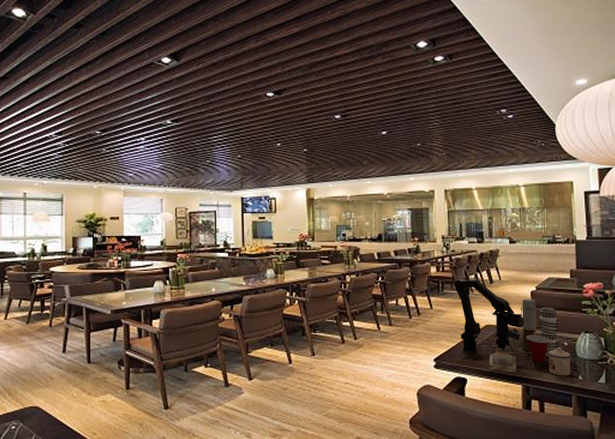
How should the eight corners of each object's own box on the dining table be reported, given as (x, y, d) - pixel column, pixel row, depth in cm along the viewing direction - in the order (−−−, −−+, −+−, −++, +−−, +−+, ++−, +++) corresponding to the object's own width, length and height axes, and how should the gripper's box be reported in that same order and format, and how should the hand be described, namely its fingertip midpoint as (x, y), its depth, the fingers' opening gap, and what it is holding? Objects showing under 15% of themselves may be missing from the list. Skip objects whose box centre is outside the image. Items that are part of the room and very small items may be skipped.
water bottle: (536, 341, 262) (536, 299, 262) (535, 344, 255) (535, 301, 255) (520, 339, 267) (519, 298, 267) (518, 342, 260) (517, 300, 260)
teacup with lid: (546, 368, 212) (546, 344, 212) (567, 370, 210) (566, 346, 210) (553, 377, 201) (553, 351, 201) (575, 378, 198) (575, 353, 198)
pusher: (493, 364, 218) (493, 354, 218) (493, 363, 220) (493, 353, 220) (511, 367, 214) (511, 356, 214) (511, 365, 217) (511, 355, 217)
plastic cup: (538, 365, 217) (537, 341, 217) (522, 358, 228) (521, 335, 228) (555, 363, 220) (555, 339, 220) (539, 357, 231) (538, 334, 231)
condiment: (538, 351, 241) (538, 329, 241) (530, 353, 237) (529, 331, 237) (525, 348, 247) (525, 327, 248) (517, 350, 243) (517, 329, 243)
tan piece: (489, 369, 212) (489, 364, 212) (490, 359, 228) (490, 354, 228) (516, 372, 207) (516, 367, 207) (515, 361, 223) (515, 356, 223)
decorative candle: (546, 350, 241) (545, 306, 242) (562, 355, 233) (561, 308, 233) (535, 353, 237) (534, 307, 238) (551, 357, 229) (550, 310, 229)
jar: (496, 361, 223) (496, 350, 223) (495, 358, 229) (495, 347, 229) (509, 363, 220) (509, 351, 221) (508, 360, 226) (508, 348, 226)
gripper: (519, 329, 218) (520, 360, 218) (518, 321, 235) (518, 350, 235) (495, 327, 223) (496, 358, 222) (495, 320, 240) (496, 348, 240)
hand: (502, 353), depth 230 cm, fingers closed
